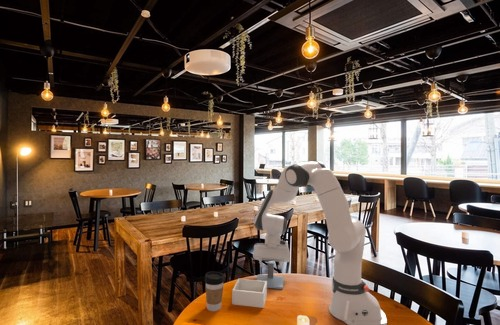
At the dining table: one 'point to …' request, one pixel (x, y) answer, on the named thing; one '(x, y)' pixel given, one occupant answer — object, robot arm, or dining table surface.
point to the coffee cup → (214, 290)
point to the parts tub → (249, 293)
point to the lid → (271, 278)
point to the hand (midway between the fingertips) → (270, 268)
